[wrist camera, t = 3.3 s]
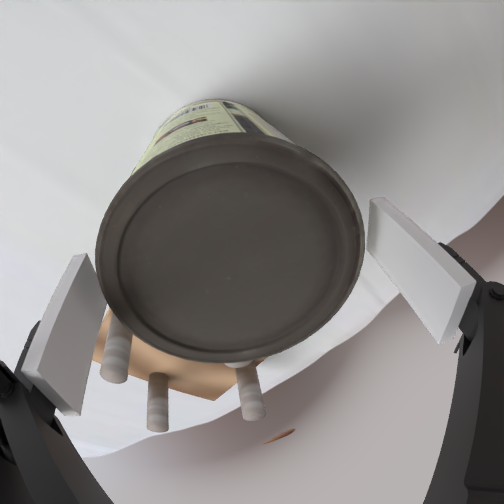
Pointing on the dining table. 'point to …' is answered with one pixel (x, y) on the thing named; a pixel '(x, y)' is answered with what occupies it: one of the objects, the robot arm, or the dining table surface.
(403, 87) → the dining table surface
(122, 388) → the dining table surface
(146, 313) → the coffee can
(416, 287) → the robot arm
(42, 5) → the dining table surface
